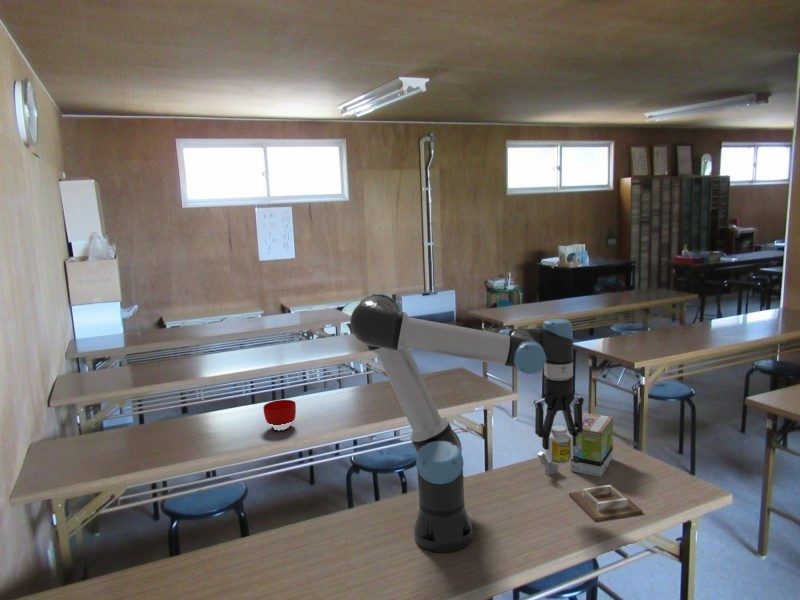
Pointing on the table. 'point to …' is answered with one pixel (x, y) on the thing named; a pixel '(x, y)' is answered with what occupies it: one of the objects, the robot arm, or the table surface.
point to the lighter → (547, 464)
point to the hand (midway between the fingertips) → (559, 458)
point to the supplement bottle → (560, 445)
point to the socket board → (604, 502)
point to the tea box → (593, 445)
